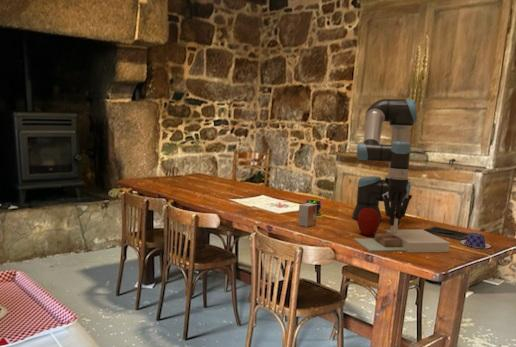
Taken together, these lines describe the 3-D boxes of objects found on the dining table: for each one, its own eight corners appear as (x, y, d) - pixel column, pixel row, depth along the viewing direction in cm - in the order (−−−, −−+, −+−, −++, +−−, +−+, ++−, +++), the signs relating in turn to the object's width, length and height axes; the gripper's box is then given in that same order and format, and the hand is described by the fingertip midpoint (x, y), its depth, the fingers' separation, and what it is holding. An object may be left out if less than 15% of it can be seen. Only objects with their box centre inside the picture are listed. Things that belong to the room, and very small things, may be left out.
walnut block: (374, 240, 176) (374, 233, 175) (389, 240, 177) (389, 233, 176) (385, 247, 166) (385, 240, 165) (400, 247, 167) (401, 240, 167)
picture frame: (423, 233, 195) (462, 242, 182) (423, 229, 195) (462, 238, 182) (434, 229, 204) (472, 237, 191) (434, 225, 204) (472, 233, 191)
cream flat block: (385, 238, 182) (386, 229, 181) (421, 237, 185) (422, 229, 184) (408, 252, 162) (409, 243, 162) (448, 251, 165) (449, 242, 164)
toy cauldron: (295, 212, 229) (296, 193, 227) (318, 211, 233) (319, 192, 232) (305, 218, 215) (307, 198, 213) (330, 217, 219) (332, 197, 218)
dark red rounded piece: (375, 239, 180) (378, 208, 178) (353, 235, 184) (355, 205, 183) (380, 234, 189) (383, 205, 187) (359, 230, 193) (361, 202, 192)
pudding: (478, 251, 169) (480, 239, 168) (453, 243, 180) (455, 231, 179) (496, 248, 174) (498, 236, 173) (471, 240, 185) (472, 229, 184)
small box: (307, 227, 195) (308, 206, 194) (297, 225, 199) (299, 204, 198) (316, 224, 201) (317, 204, 200) (307, 222, 205) (308, 202, 204)
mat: (353, 239, 177) (354, 238, 177) (387, 239, 180) (387, 238, 180) (369, 251, 161) (369, 250, 161) (406, 251, 164) (406, 249, 164)
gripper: (388, 179, 163) (383, 235, 166) (417, 179, 165) (412, 235, 168) (379, 176, 170) (375, 230, 173) (407, 177, 173) (403, 230, 176)
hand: (393, 232), depth 171 cm, fingers closed
